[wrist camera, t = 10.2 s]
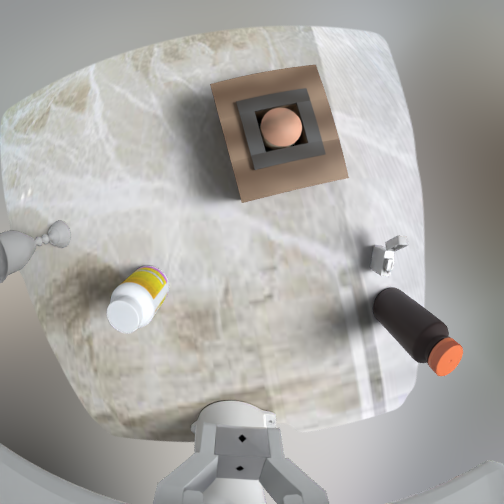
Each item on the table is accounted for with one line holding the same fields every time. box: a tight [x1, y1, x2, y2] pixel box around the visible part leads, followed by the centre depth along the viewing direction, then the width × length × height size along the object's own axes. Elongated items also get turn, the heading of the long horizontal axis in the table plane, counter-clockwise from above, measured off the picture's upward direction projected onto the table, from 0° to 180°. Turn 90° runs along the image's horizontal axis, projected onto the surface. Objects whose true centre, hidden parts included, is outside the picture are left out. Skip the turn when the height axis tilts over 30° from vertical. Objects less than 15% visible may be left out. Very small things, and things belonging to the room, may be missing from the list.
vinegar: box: [373, 288, 463, 376], centre depth 37 cm, size 7×7×20 cm
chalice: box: [0, 220, 71, 283], centre depth 33 cm, size 7×7×18 cm
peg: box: [259, 108, 302, 152], centre depth 35 cm, size 5×5×8 cm
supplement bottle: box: [107, 266, 169, 333], centre depth 38 cm, size 7×7×13 cm
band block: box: [210, 65, 349, 203], centre depth 36 cm, size 16×14×9 cm
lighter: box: [370, 235, 408, 277], centre depth 40 cm, size 7×2×8 cm, turn 175°
